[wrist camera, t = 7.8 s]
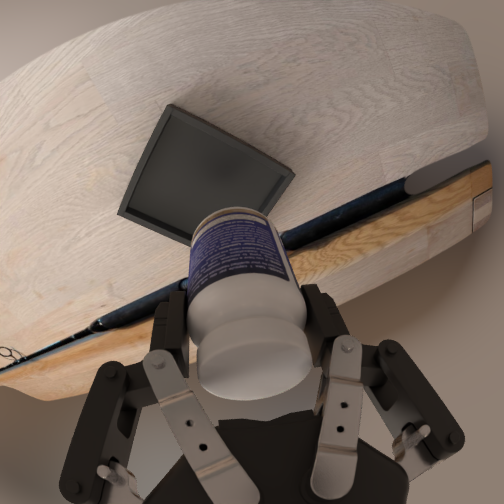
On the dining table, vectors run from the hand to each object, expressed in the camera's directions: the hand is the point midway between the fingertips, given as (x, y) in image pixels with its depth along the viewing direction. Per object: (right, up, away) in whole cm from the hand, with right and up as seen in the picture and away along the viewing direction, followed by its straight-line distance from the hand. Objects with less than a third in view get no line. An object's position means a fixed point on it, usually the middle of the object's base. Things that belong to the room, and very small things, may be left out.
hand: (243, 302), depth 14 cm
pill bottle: (-1, +3, +5) cm, 6 cm away
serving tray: (-5, +10, +18) cm, 21 cm away
